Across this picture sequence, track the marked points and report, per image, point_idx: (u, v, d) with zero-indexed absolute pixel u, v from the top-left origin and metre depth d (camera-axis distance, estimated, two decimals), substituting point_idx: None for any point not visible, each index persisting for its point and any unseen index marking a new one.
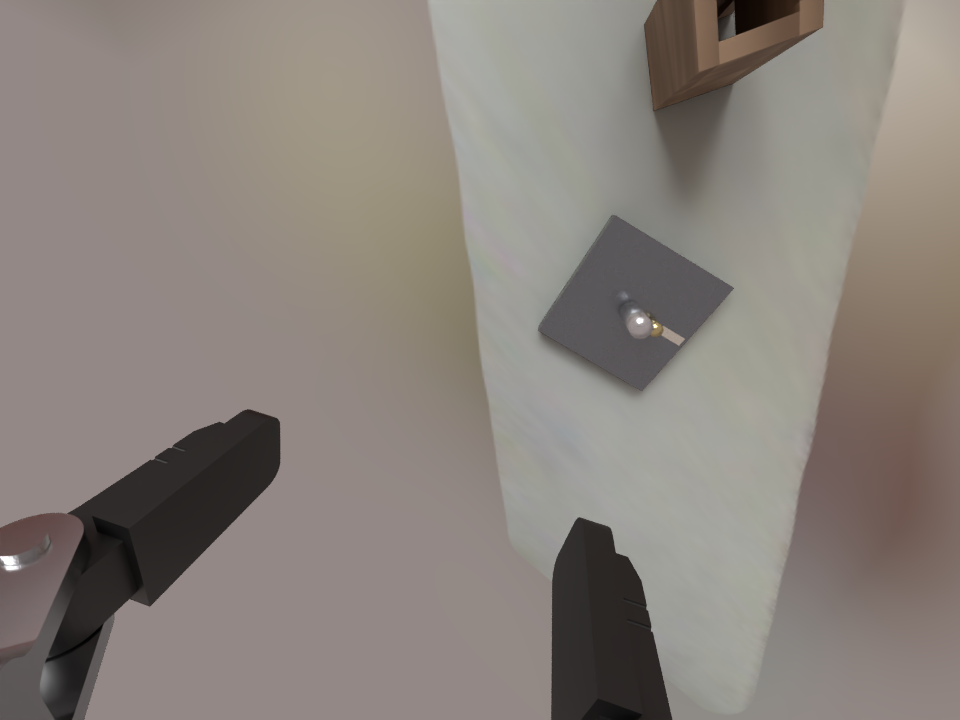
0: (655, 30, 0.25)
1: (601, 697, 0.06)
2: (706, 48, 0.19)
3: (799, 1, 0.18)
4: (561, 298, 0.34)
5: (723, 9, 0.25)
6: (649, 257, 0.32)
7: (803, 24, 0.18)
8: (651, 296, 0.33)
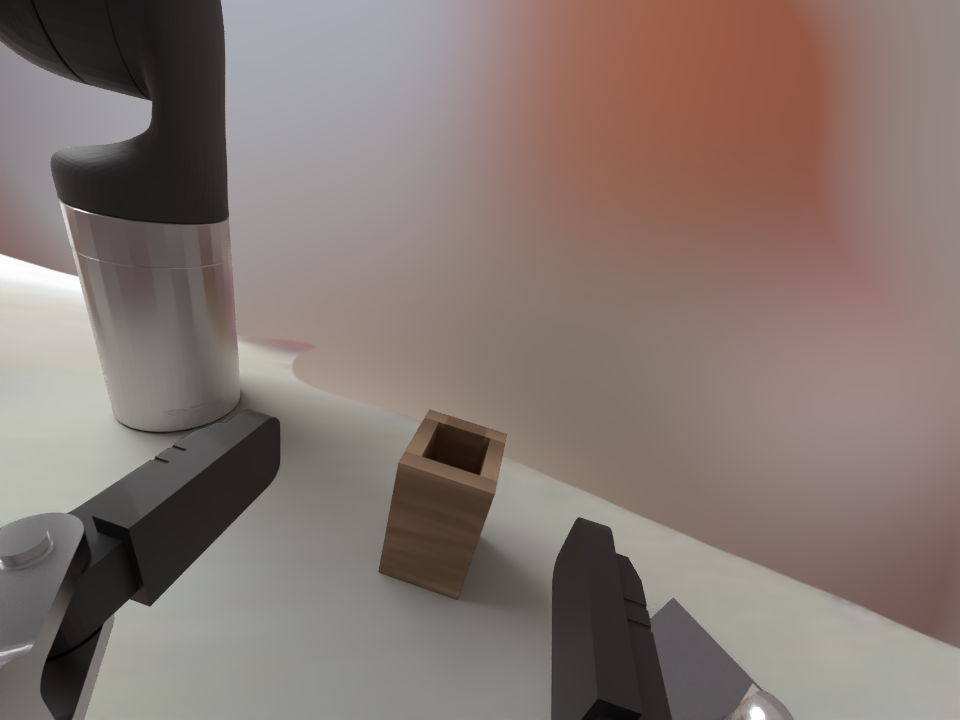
0: (401, 552, 0.24)
1: (601, 697, 0.06)
2: (479, 483, 0.21)
3: (484, 437, 0.24)
4: None
5: None
6: None
7: (499, 439, 0.25)
8: (689, 704, 0.21)
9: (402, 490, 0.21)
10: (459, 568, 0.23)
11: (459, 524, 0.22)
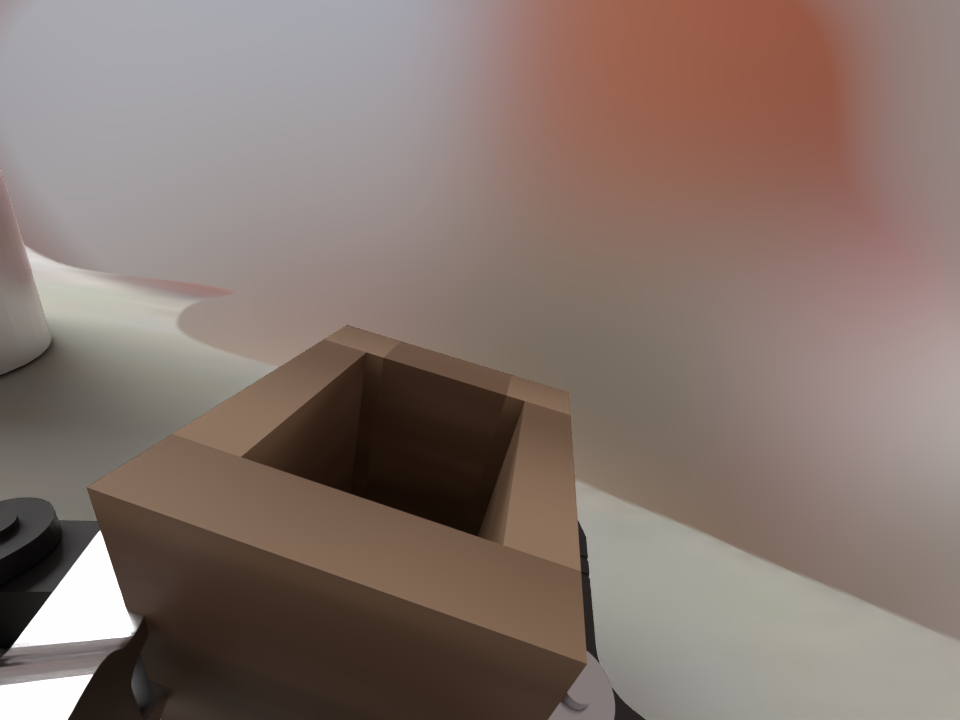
0: None
1: None
2: (502, 591, 0.04)
3: (505, 397, 0.08)
4: None
5: None
6: None
7: (552, 405, 0.08)
8: None
9: (156, 607, 0.05)
10: None
11: None
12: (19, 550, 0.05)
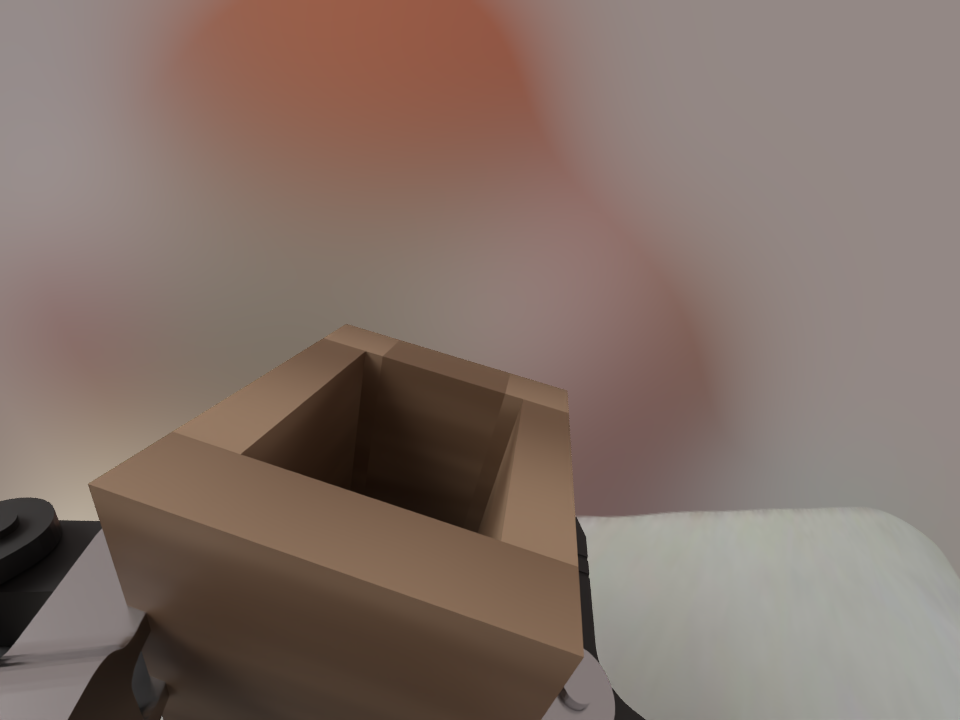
0: None
1: None
2: (500, 586, 0.04)
3: (503, 395, 0.08)
4: None
5: None
6: None
7: (550, 403, 0.08)
8: None
9: (157, 604, 0.05)
10: None
11: None
12: (19, 550, 0.05)
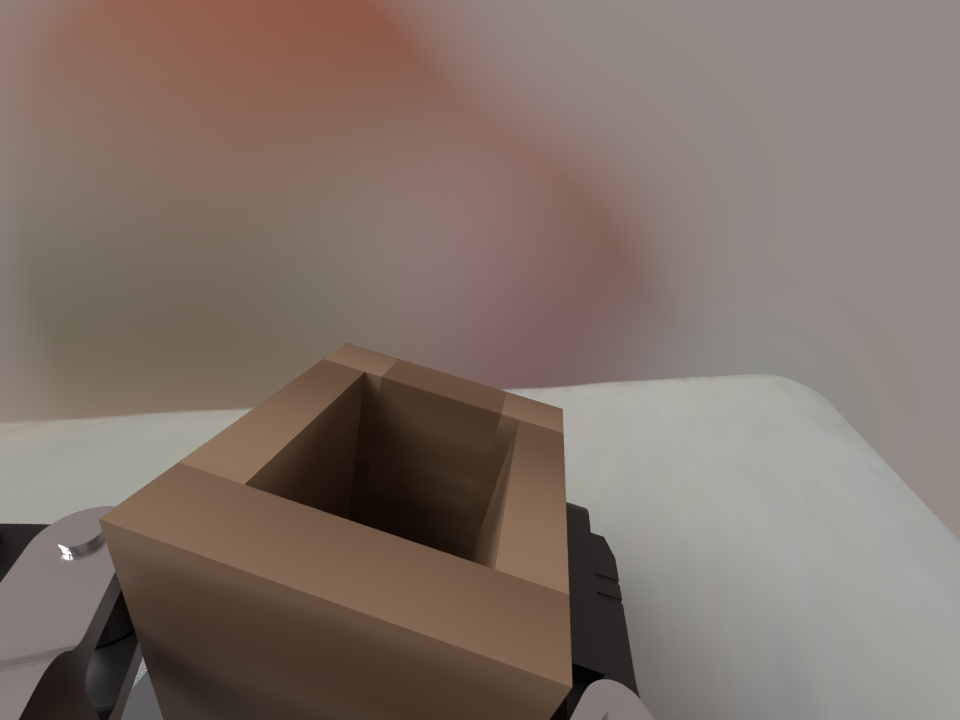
0: None
1: None
2: (493, 616, 0.04)
3: (500, 415, 0.08)
4: None
5: None
6: None
7: (545, 423, 0.08)
8: None
9: (164, 629, 0.05)
10: None
11: None
12: None
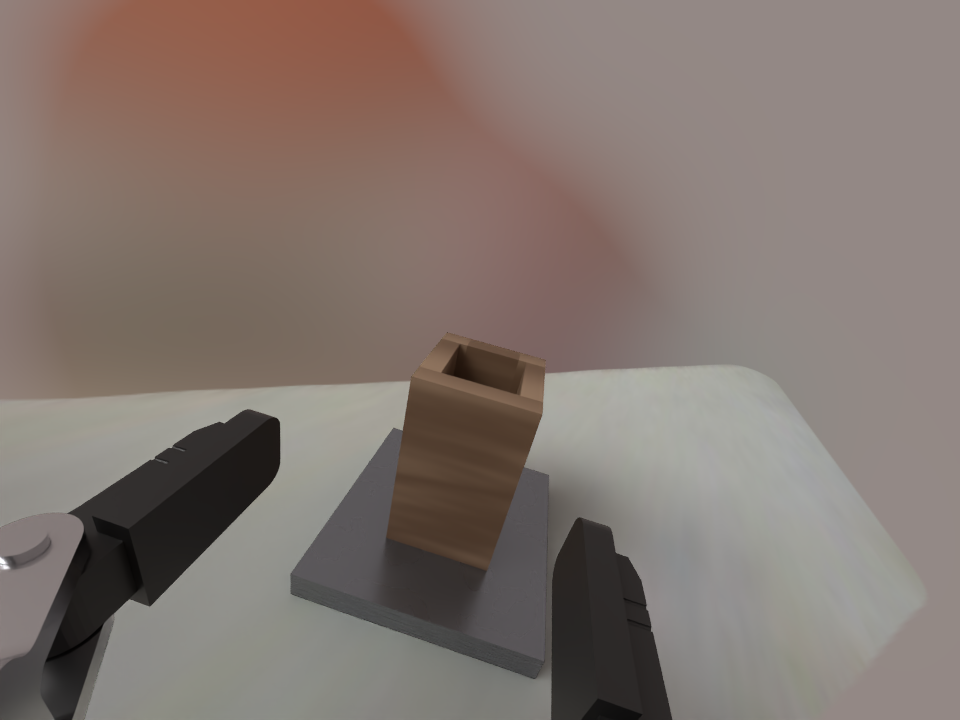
0: (415, 509, 0.18)
1: (601, 697, 0.06)
2: (521, 402, 0.15)
3: (518, 361, 0.19)
4: (461, 629, 0.16)
5: None
6: (363, 509, 0.21)
7: (537, 364, 0.19)
8: None
9: (416, 418, 0.16)
10: (491, 527, 0.18)
11: (492, 463, 0.16)
12: None
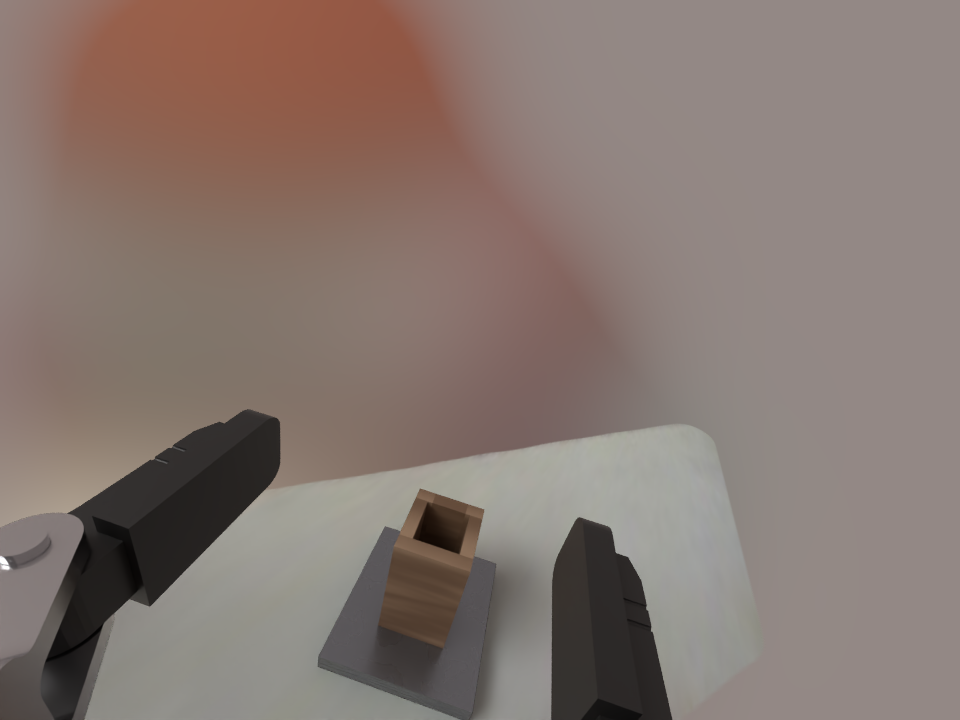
0: (396, 611, 0.29)
1: (601, 697, 0.06)
2: (458, 562, 0.26)
3: (465, 514, 0.30)
4: (423, 691, 0.27)
5: None
6: (363, 602, 0.31)
7: (477, 516, 0.30)
8: None
9: (397, 566, 0.27)
10: (444, 625, 0.28)
11: (443, 592, 0.27)
12: None
